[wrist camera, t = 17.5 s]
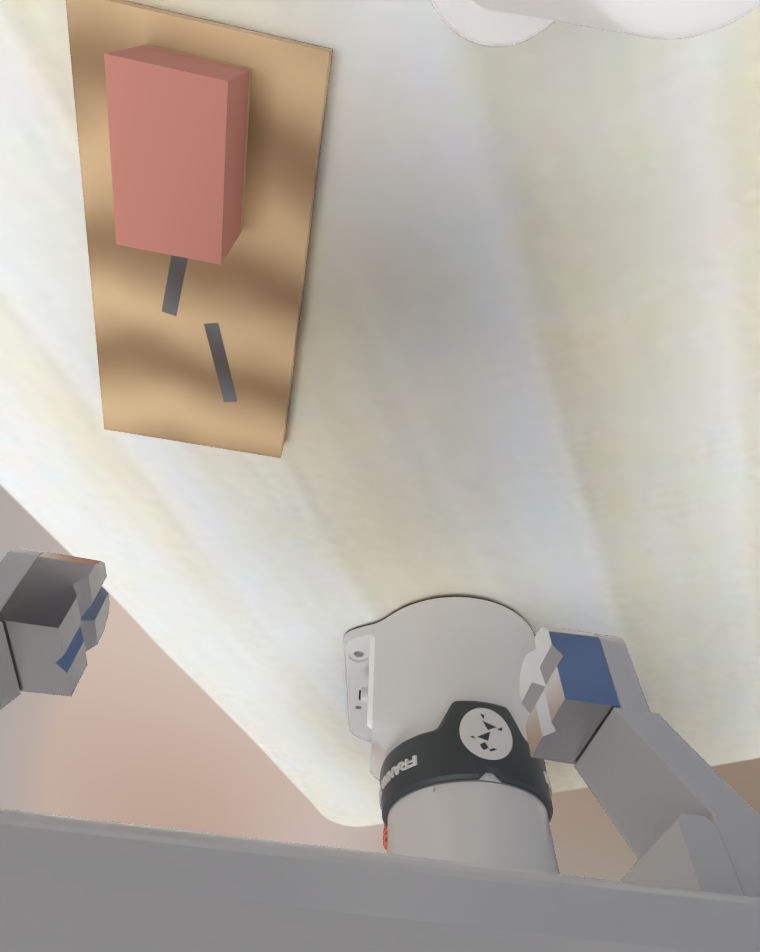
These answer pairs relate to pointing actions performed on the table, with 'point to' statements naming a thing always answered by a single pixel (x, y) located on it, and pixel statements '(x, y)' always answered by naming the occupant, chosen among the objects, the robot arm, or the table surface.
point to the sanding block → (177, 150)
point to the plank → (192, 281)
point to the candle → (588, 17)
